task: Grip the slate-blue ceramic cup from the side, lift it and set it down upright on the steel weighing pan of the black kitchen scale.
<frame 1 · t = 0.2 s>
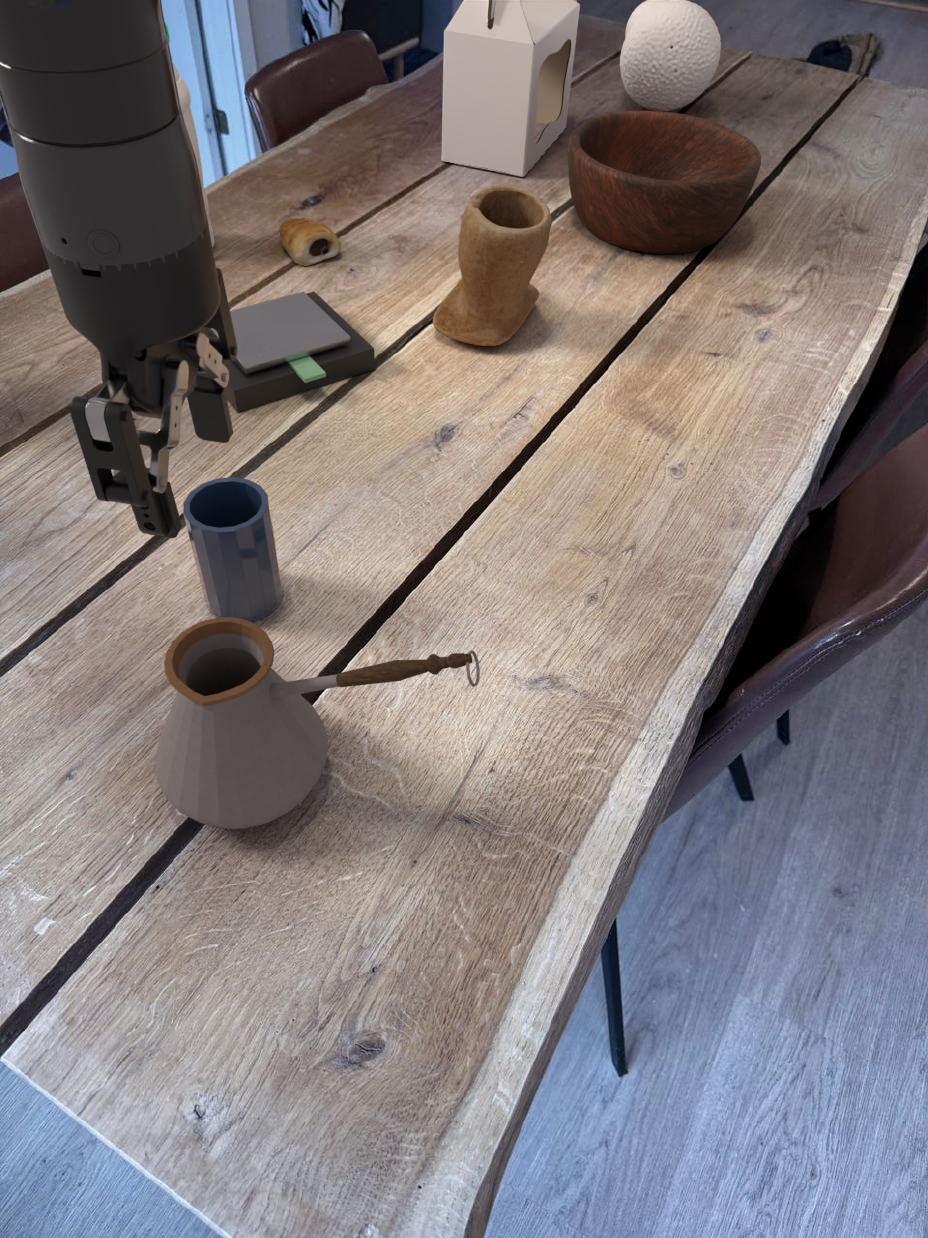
hand: (190, 483, 54), 20 cm above the table, tool pointing down, fingers open, 8 cm apart
pastry: (308, 252, 116), on the table
cup: (244, 596, 75), on the table
decorative orb: (655, 108, 156), on the table
scale: (279, 358, 99), on the table
water bottle: (187, 249, 115), on the table
coffee pot: (318, 781, 63), on the table
gable box: (505, 146, 142), on the table
scale pan: (276, 330, 96), point 3 cm above the table, slide at 0.0 cm
stone cup: (493, 322, 106), on the table
wooden bowl: (649, 224, 126), on the table
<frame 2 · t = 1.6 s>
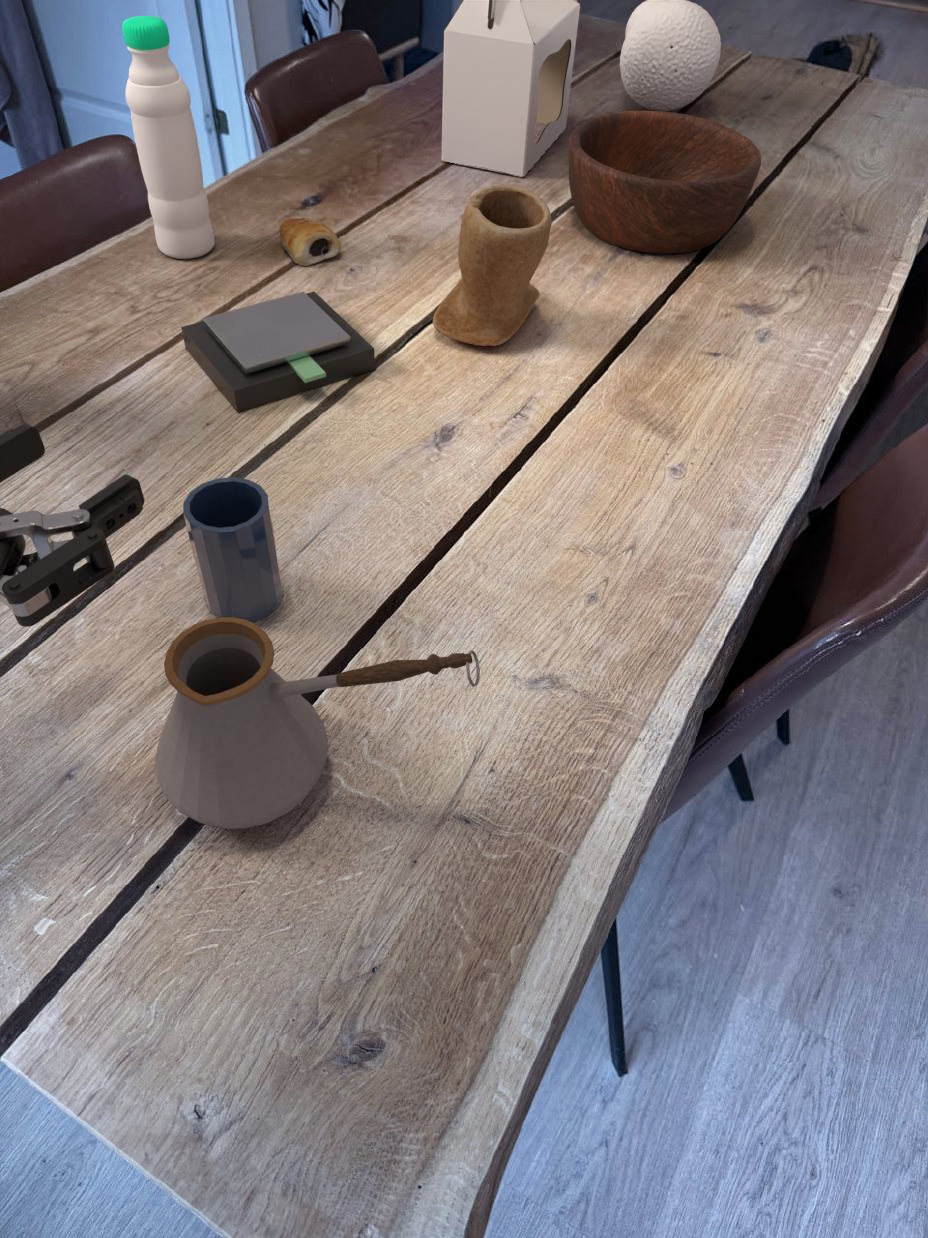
hand: (86, 461, 54), 20 cm above the table, tool horizontal, fingers open, 8 cm apart
nothing on the table moved.
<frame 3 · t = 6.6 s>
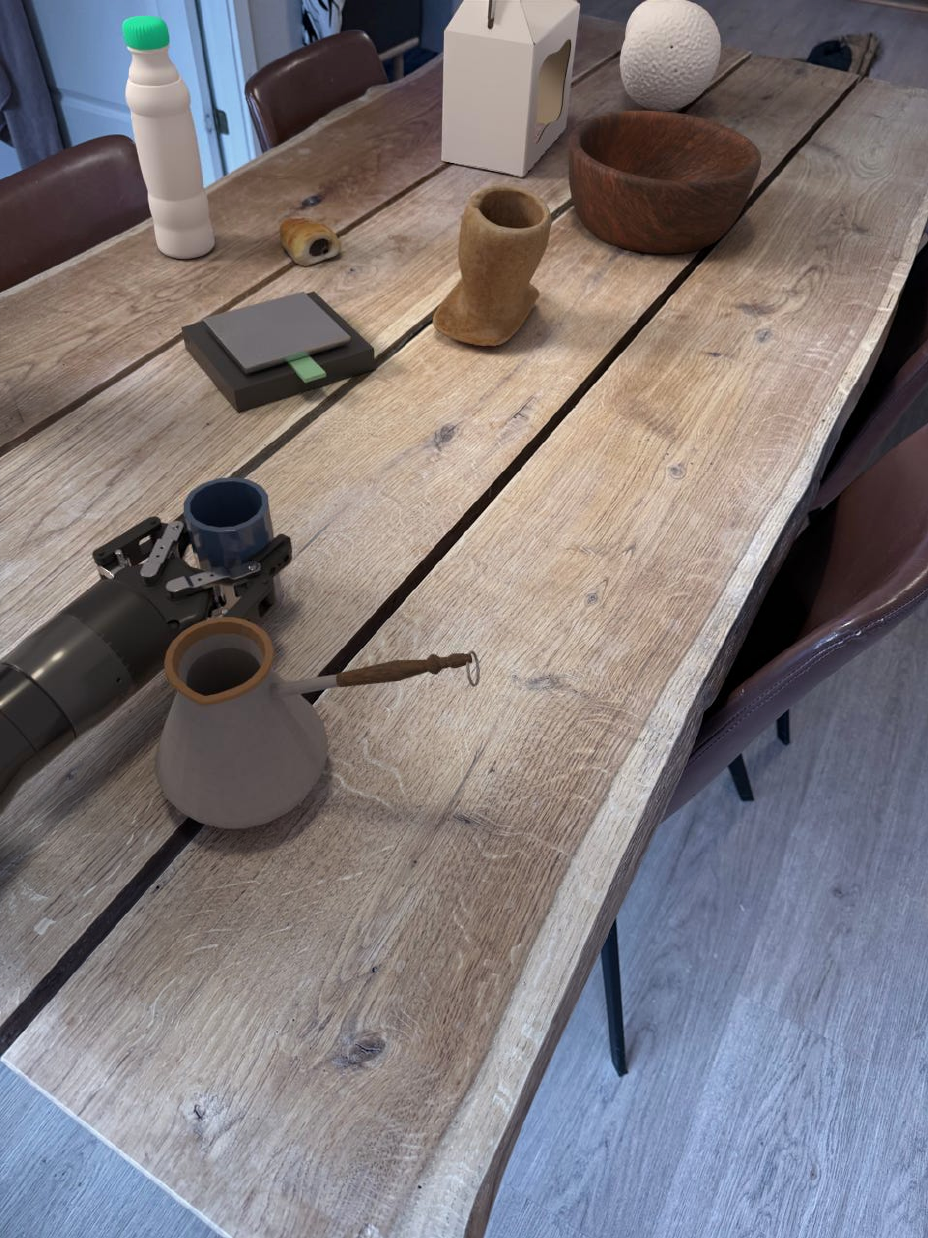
hand: (254, 526, 72), 6 cm above the table, tool horizontal, fingers closed on cup, 6 cm apart
cup: (244, 596, 75), on the table, touching gripper
everything else where it was.
when the fingers open (10 cm above the table, at t = 16.3 s): cup stays where it is, resting on scale pan.
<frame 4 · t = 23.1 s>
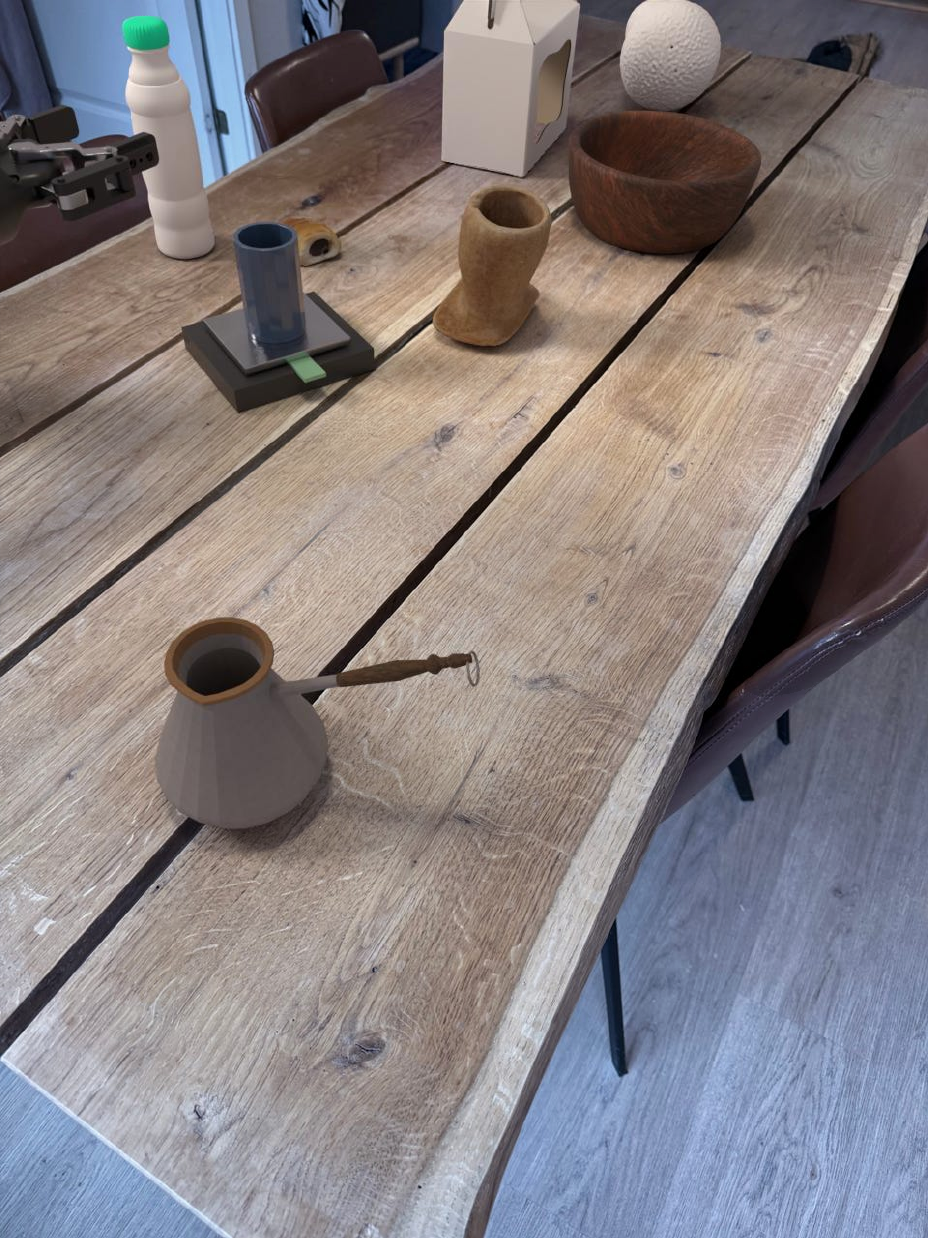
hand: (112, 132, 68), 28 cm above the table, tool horizontal, fingers open, 8 cm apart
cup: (276, 328, 96), point 4 cm above the table, touching scale pan
scale pan: (276, 331, 96), point 3 cm above the table, slide at -0.1 cm, touching cup, scale
everything else where it was.
at the end: cup 0.1 cm off-centre on the scale, point 3.7 cm above the scale's base; cup tilted 0°; cup touching scale pan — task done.
